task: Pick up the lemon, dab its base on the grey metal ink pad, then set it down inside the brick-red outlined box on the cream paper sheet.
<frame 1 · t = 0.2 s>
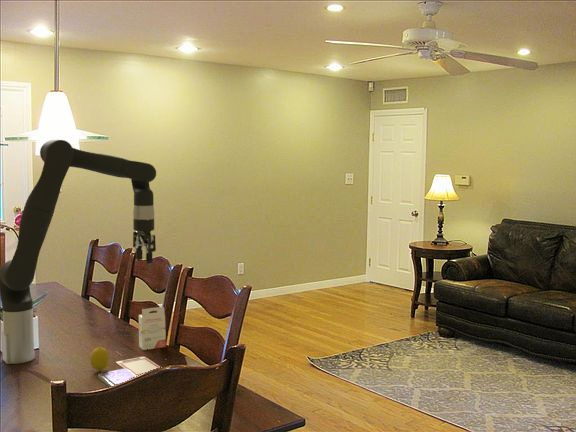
hand: (144, 261, 233), 29 cm above the table, fingers open, 8 cm apart
ink cartridge box: (152, 347, 225), on the table
marked sheet: (140, 367, 203), on the table
lemon: (100, 371, 199), on the table
ink pad: (120, 381, 191), on the table
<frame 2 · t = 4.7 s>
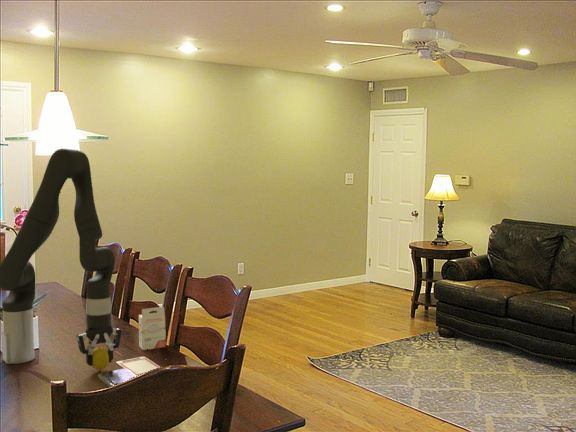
hand: (99, 363, 199), 3 cm above the table, fingers closed on lemon, 5 cm apart
lemon: (100, 371, 199), on the table, touching gripper
everything else where it was.
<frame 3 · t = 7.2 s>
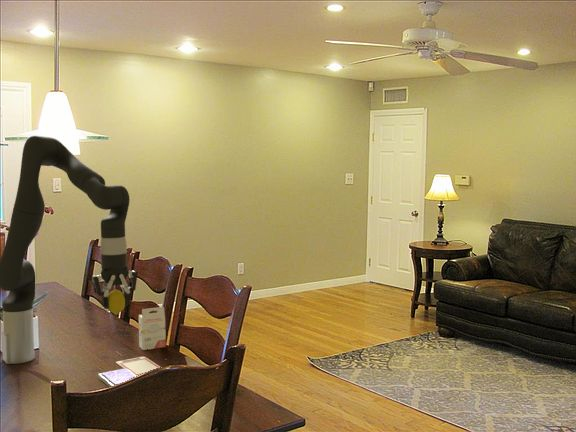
hand: (116, 306, 191), 22 cm above the table, fingers closed on lemon, 5 cm apart
lemon: (116, 315, 191), point 20 cm above the table, touching gripper
everything else where it was.
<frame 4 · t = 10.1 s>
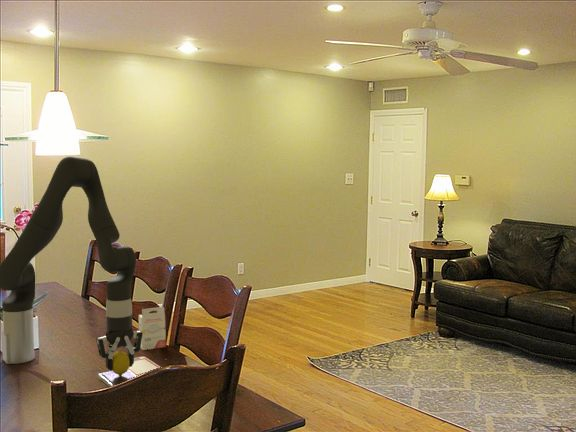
hand: (120, 367, 191), 4 cm above the table, fingers closed on lemon, 5 cm apart
lemon: (120, 376, 191), point 1 cm above the table, touching gripper, ink pad
everything else where it was.
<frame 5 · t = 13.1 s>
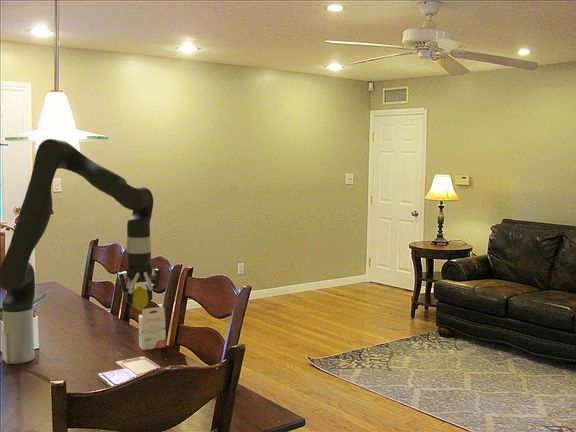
hand: (139, 302, 201), 21 cm above the table, fingers closed on lemon, 5 cm apart
lemon: (139, 311, 201), point 19 cm above the table, touching gripper
everything else where it was.
when the fingers open (4 cm above the table, at t = 15.8 s): lemon stays where it is, resting on marked sheet.
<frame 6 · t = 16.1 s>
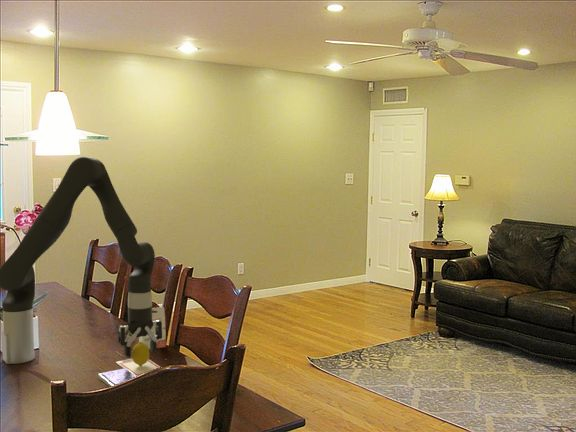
hand: (140, 354, 203), 4 cm above the table, fingers open, 8 cm apart
lemon: (140, 367, 203), resting on marked sheet
everything else where it was.
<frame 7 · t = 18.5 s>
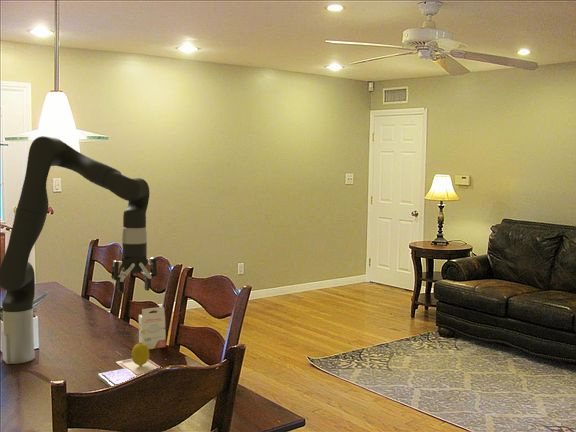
hand: (134, 291, 202), 25 cm above the table, fingers open, 8 cm apart
nothing on the table moved.
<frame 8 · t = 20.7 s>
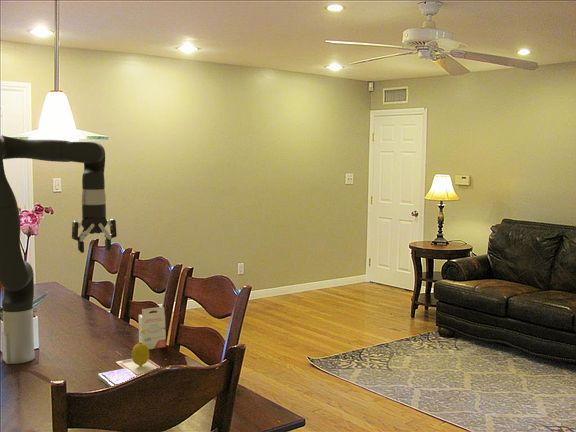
hand: (94, 251, 209), 36 cm above the table, fingers open, 8 cm apart
nothing on the table moved.
at the end: lemon inside the target area on the marked sheet (0.1 cm from its centre), point 0.1 cm above the marked sheet's base; lemon touching marked sheet; the gripper is holding nothing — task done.
